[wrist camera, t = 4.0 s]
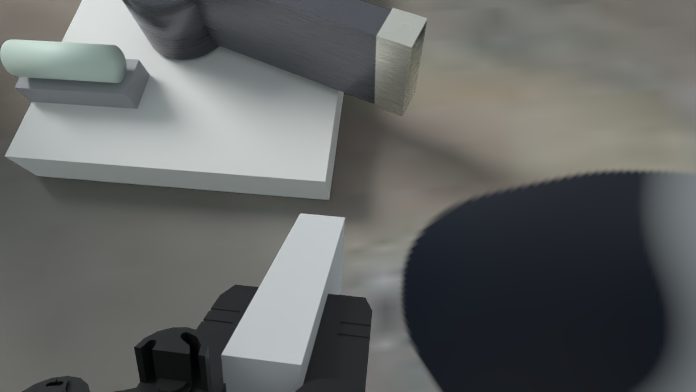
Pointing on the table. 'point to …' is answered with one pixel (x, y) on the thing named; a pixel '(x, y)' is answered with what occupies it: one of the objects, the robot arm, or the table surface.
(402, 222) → the table surface
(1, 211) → the table surface
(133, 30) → the instrument base
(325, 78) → the dark grey lever
